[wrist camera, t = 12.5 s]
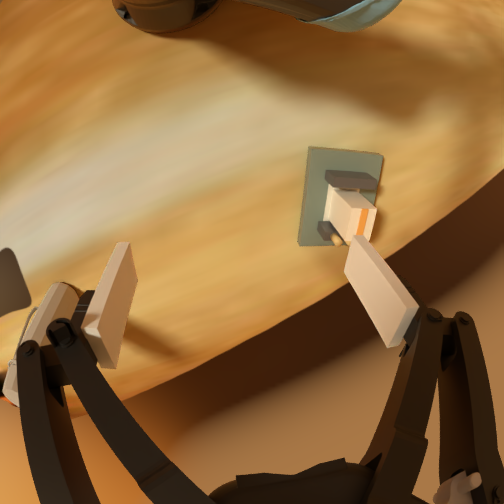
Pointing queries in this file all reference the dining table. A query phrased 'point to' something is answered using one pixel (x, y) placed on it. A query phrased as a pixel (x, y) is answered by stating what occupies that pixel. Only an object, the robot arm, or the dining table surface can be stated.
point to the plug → (351, 214)
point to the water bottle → (41, 328)
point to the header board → (333, 177)
